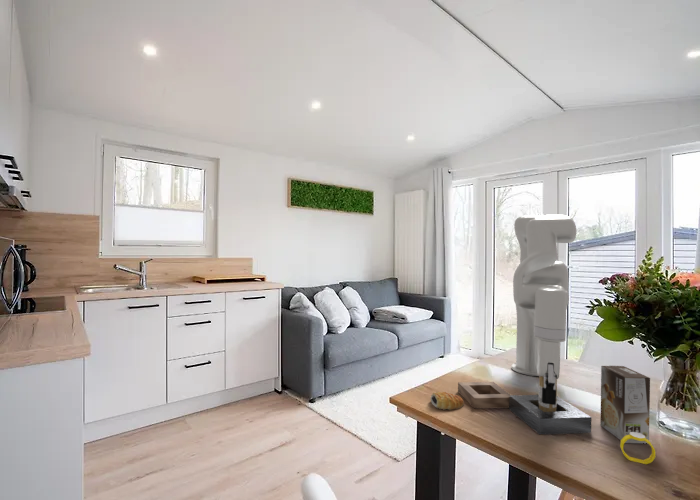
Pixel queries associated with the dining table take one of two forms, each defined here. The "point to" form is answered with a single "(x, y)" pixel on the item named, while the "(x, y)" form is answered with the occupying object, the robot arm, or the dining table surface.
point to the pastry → (446, 400)
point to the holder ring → (484, 394)
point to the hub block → (550, 416)
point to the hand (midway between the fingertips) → (547, 399)
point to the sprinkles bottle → (542, 406)
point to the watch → (640, 438)
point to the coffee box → (625, 402)
